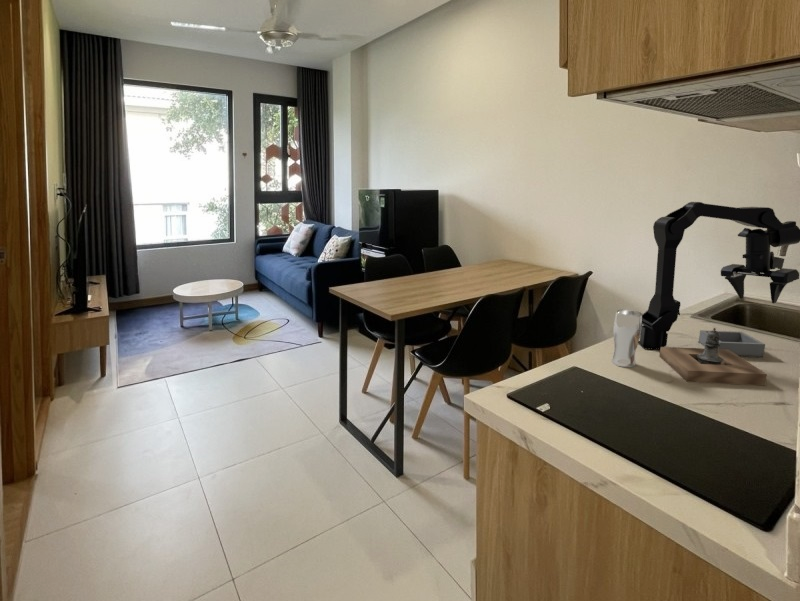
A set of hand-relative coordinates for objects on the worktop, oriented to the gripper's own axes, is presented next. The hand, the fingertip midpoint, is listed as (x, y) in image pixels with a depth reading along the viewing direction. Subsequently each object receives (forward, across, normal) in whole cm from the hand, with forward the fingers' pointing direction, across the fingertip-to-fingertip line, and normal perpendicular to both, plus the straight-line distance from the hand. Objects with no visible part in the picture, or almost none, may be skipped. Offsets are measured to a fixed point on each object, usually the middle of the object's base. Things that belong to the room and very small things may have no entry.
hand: (757, 300), depth 138 cm
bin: (+13, +1, +11) cm, 17 cm away
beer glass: (+7, +4, +48) cm, 49 cm away
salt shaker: (+11, -8, +31) cm, 34 cm away
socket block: (+10, -8, +31) cm, 34 cm away
